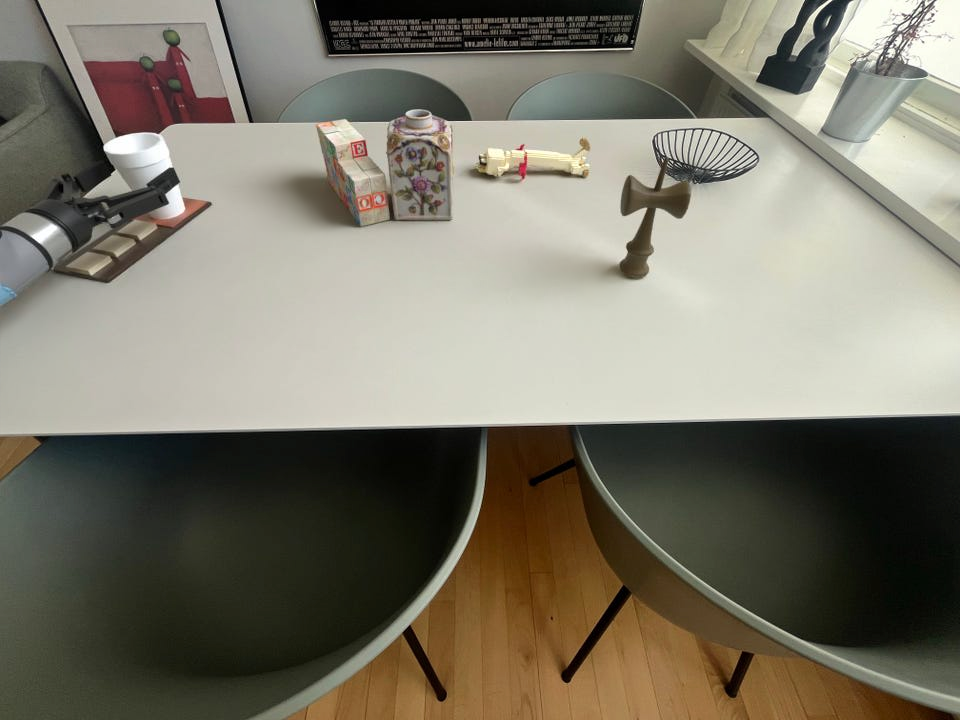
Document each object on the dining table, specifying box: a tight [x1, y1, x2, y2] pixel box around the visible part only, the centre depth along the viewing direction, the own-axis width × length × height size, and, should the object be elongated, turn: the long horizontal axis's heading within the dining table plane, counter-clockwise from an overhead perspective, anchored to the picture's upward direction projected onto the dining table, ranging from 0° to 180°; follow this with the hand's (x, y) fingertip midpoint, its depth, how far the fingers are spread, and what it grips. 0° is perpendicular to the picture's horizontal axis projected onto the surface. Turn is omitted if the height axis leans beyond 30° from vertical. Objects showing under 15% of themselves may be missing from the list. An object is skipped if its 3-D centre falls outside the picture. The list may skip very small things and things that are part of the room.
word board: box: [52, 196, 213, 284], centre depth 88 cm, size 11×27×2 cm, turn 165°
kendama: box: [618, 156, 692, 278], centre depth 76 cm, size 6×10×20 cm, turn 83°
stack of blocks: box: [315, 118, 391, 227], centre depth 95 cm, size 21×6×12 cm, turn 29°
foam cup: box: [102, 131, 185, 219], centre depth 89 cm, size 10×9×13 cm
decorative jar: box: [385, 108, 455, 221], centre depth 91 cm, size 12×12×18 cm
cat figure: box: [475, 137, 591, 180], centre depth 106 cm, size 10×9×25 cm
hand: (140, 171), depth 86 cm, fingers open, 13 cm apart
